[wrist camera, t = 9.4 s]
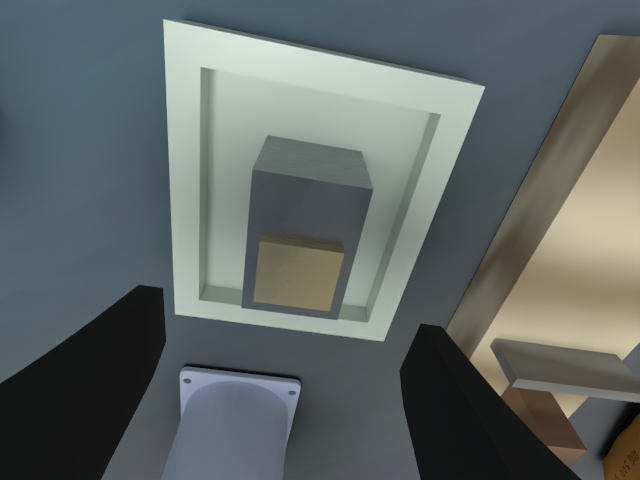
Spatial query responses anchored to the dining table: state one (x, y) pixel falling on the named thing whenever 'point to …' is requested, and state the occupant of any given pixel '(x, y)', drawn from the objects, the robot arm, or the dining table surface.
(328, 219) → the grey angular block
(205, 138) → the parts tray
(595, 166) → the body
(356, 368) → the dining table surface
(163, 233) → the dining table surface
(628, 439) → the coffee package
